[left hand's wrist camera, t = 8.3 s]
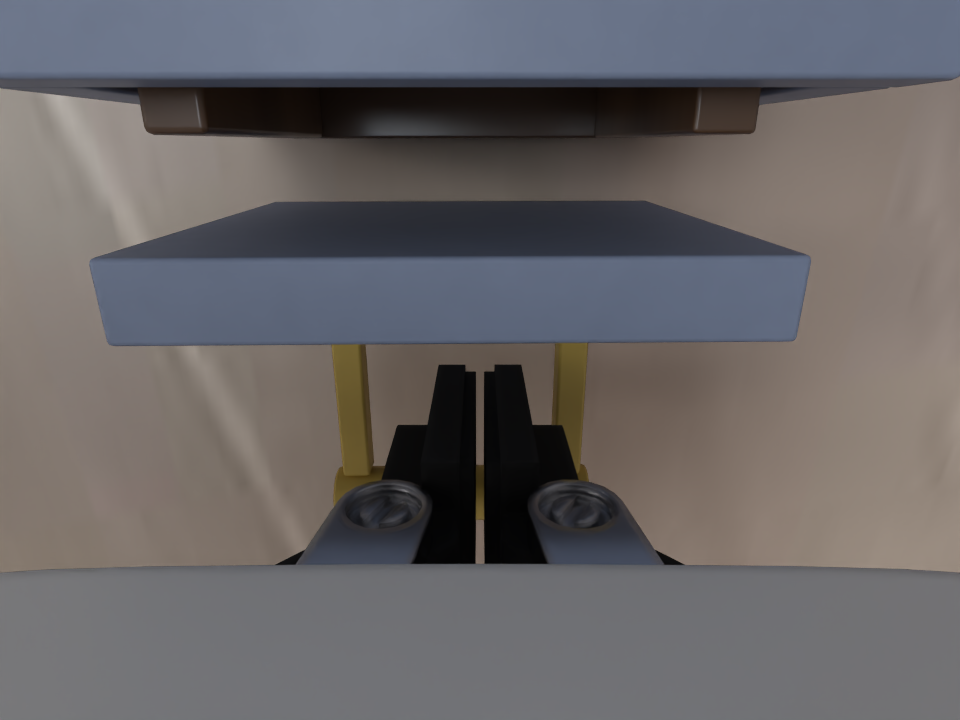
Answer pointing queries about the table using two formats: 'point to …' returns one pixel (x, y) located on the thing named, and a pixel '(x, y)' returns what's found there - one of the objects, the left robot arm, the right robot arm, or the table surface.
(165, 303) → the drawer
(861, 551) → the table surface
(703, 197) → the table surface
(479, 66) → the cabinet
